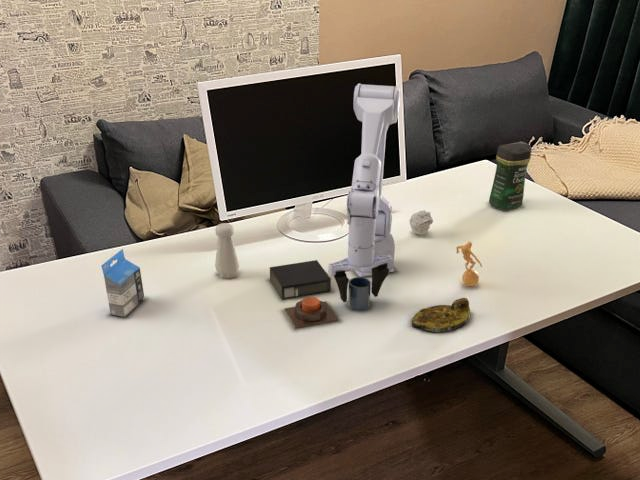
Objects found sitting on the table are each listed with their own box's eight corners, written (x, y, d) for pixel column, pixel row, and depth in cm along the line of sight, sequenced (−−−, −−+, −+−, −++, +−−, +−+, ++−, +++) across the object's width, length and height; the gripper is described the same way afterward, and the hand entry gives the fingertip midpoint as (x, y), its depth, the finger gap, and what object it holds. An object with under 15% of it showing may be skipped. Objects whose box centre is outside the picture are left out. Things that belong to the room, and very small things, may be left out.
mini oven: (316, 272, 181) (316, 259, 179) (331, 293, 173) (331, 280, 170) (270, 280, 177) (269, 267, 175) (282, 301, 169) (282, 288, 167)
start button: (316, 302, 165) (316, 295, 164) (322, 311, 162) (322, 304, 161) (299, 305, 164) (299, 298, 163) (305, 314, 160) (305, 307, 159)
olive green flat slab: (424, 342, 158) (479, 325, 164) (427, 325, 155) (483, 308, 160) (401, 318, 164) (455, 302, 170) (403, 301, 161) (459, 285, 166)
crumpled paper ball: (418, 241, 196) (420, 217, 192) (403, 231, 201) (405, 207, 197) (436, 236, 199) (439, 212, 195) (421, 227, 204) (423, 203, 200)
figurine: (487, 290, 175) (494, 244, 168) (469, 296, 172) (475, 250, 165) (463, 276, 181) (469, 231, 174) (445, 282, 178) (450, 237, 171)
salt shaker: (235, 281, 176) (231, 231, 169) (212, 278, 177) (208, 229, 170) (242, 270, 181) (239, 221, 174) (220, 267, 182) (216, 219, 174)
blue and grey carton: (125, 318, 162) (116, 268, 155) (109, 315, 163) (100, 265, 156) (145, 299, 169) (138, 250, 162) (130, 296, 170) (122, 248, 163)
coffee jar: (502, 213, 212) (512, 150, 202) (484, 203, 218) (493, 142, 207) (527, 207, 217) (538, 145, 206) (508, 197, 222) (518, 137, 211)
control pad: (325, 303, 168) (325, 294, 167) (337, 321, 162) (338, 311, 161) (284, 311, 165) (283, 301, 164) (294, 329, 159) (294, 319, 158)
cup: (364, 298, 171) (365, 275, 167) (372, 308, 167) (374, 285, 164) (345, 301, 169) (345, 279, 166) (352, 312, 166) (353, 289, 162)
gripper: (336, 255, 154) (335, 311, 162) (399, 246, 158) (395, 300, 166) (325, 241, 159) (324, 295, 167) (386, 232, 164) (383, 286, 171)
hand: (359, 297), depth 167 cm, fingers open, 7 cm apart
